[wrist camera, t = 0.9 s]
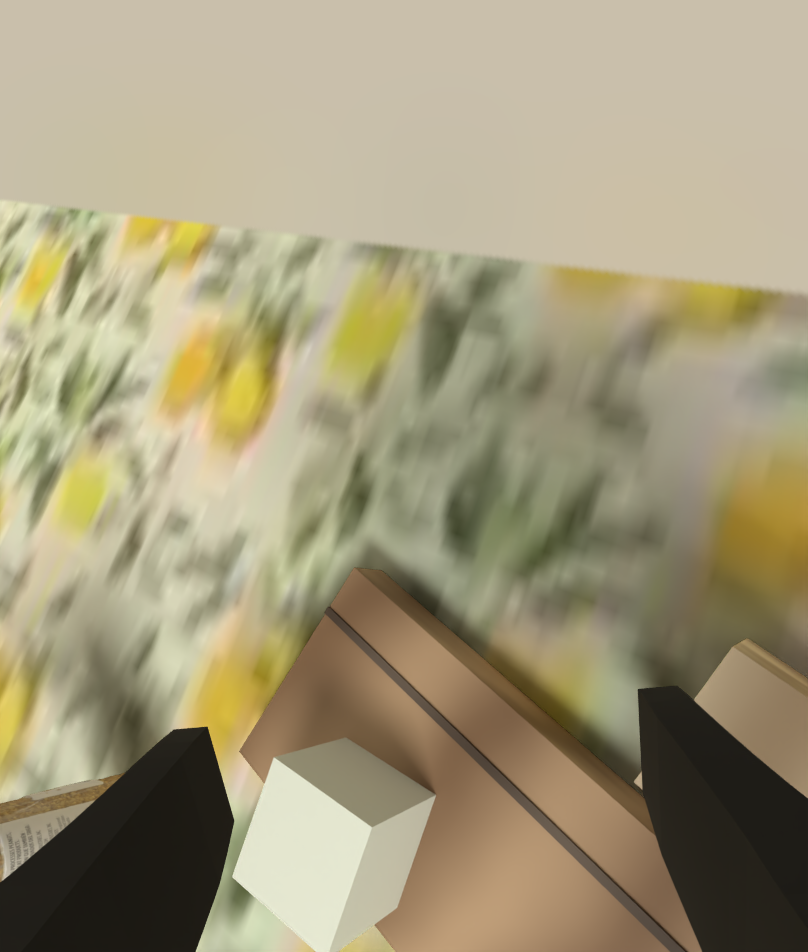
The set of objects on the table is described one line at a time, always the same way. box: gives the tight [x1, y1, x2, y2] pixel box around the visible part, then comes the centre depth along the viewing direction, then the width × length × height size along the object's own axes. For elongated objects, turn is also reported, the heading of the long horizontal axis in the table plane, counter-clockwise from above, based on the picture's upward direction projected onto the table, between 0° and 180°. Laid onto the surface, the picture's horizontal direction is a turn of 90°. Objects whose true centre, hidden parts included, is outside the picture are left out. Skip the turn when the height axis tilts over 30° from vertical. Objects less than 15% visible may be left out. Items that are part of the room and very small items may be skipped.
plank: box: [239, 568, 702, 952], centre depth 23 cm, size 16×9×2 cm, turn 52°
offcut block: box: [232, 738, 436, 952], centre depth 22 cm, size 4×4×4 cm
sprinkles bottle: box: [0, 773, 125, 882], centre depth 25 cm, size 5×5×13 cm
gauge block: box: [634, 638, 808, 798], centre depth 17 cm, size 4×4×7 cm
